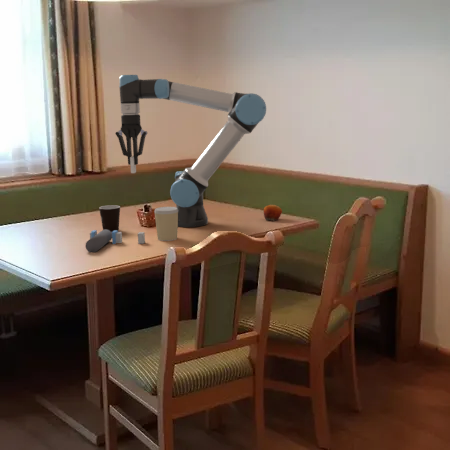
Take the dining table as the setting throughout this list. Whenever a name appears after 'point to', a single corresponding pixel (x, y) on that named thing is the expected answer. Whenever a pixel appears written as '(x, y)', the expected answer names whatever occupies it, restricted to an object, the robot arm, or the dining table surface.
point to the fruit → (272, 212)
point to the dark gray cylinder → (98, 240)
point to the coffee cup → (166, 223)
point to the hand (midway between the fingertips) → (133, 172)
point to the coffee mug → (110, 217)
